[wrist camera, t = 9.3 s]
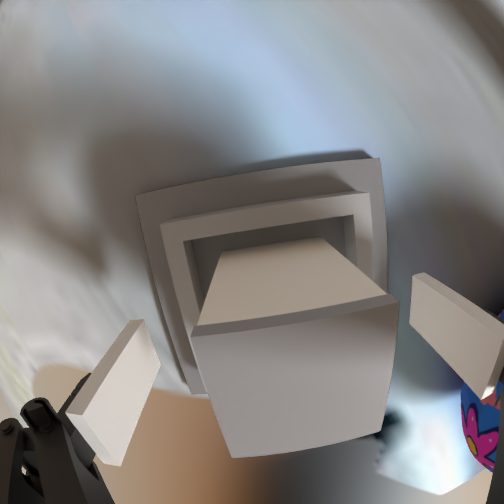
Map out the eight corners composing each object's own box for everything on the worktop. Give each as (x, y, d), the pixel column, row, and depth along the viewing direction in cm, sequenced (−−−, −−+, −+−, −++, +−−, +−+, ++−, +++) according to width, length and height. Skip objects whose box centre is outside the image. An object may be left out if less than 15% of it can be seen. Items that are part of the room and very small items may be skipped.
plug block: (220, 250, 16) (190, 337, 7) (320, 235, 16) (399, 301, 7) (237, 337, 17) (232, 457, 8) (327, 323, 17) (380, 430, 8)
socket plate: (139, 194, 16) (121, 197, 13) (373, 158, 15) (394, 156, 13) (193, 387, 19) (187, 411, 17) (379, 356, 19) (392, 376, 16)
